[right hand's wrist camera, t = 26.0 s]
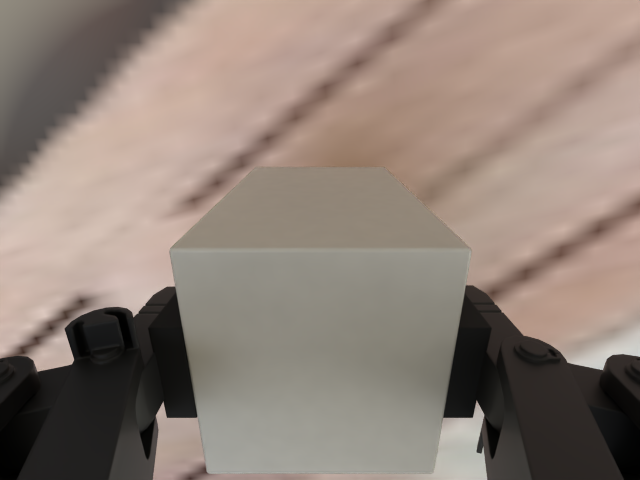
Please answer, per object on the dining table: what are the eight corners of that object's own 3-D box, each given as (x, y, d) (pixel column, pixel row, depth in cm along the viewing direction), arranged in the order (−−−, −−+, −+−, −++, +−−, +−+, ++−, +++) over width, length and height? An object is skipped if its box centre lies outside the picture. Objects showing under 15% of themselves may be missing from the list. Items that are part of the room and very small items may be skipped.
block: (377, 289, 19) (434, 475, 9) (263, 289, 19) (206, 475, 9) (385, 166, 17) (474, 248, 7) (255, 166, 17) (166, 248, 7)
